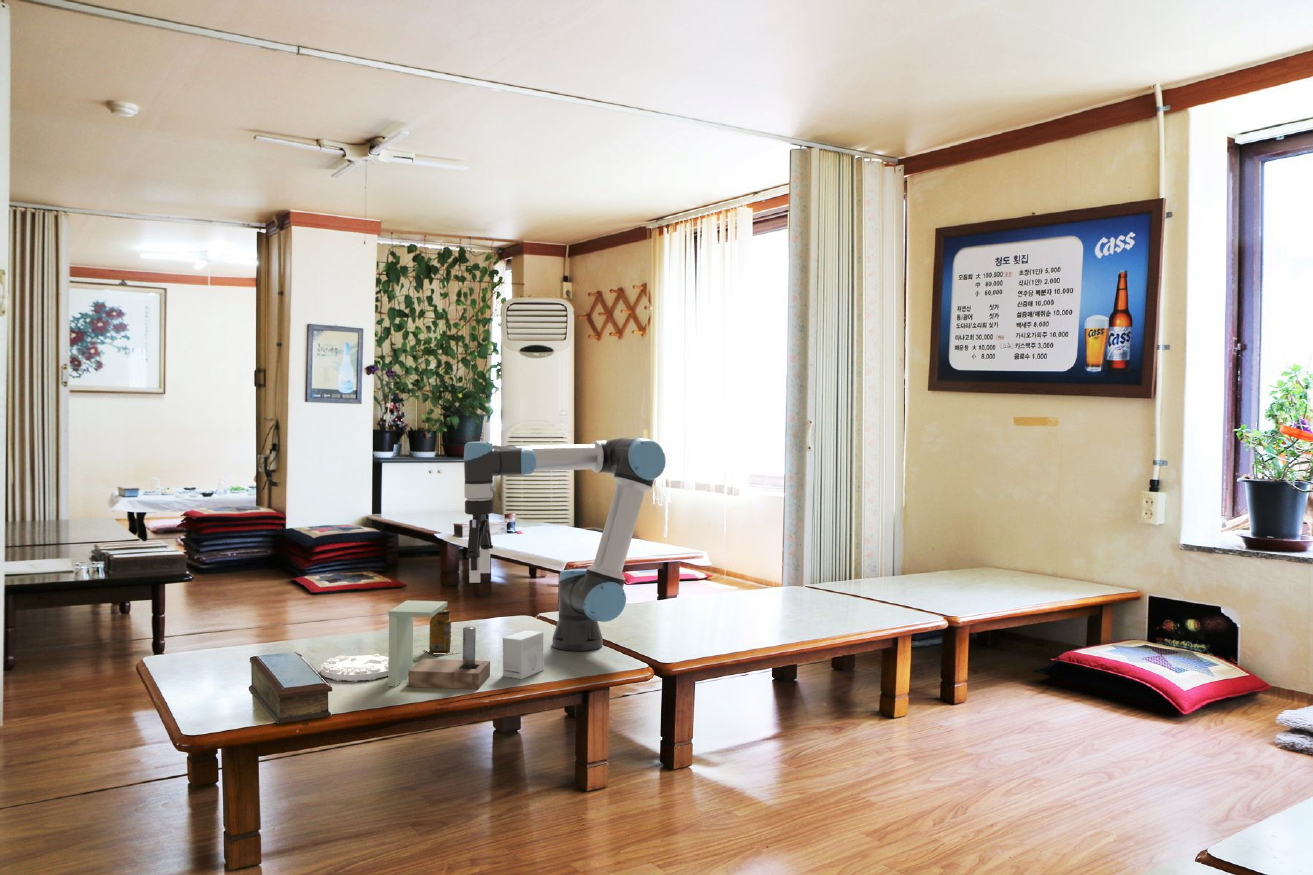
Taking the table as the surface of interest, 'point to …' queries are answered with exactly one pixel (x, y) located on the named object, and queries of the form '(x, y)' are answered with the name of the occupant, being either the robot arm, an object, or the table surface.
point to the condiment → (440, 634)
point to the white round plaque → (356, 667)
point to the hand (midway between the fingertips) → (480, 577)
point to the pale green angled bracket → (405, 635)
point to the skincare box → (523, 654)
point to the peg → (469, 647)
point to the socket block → (448, 674)
